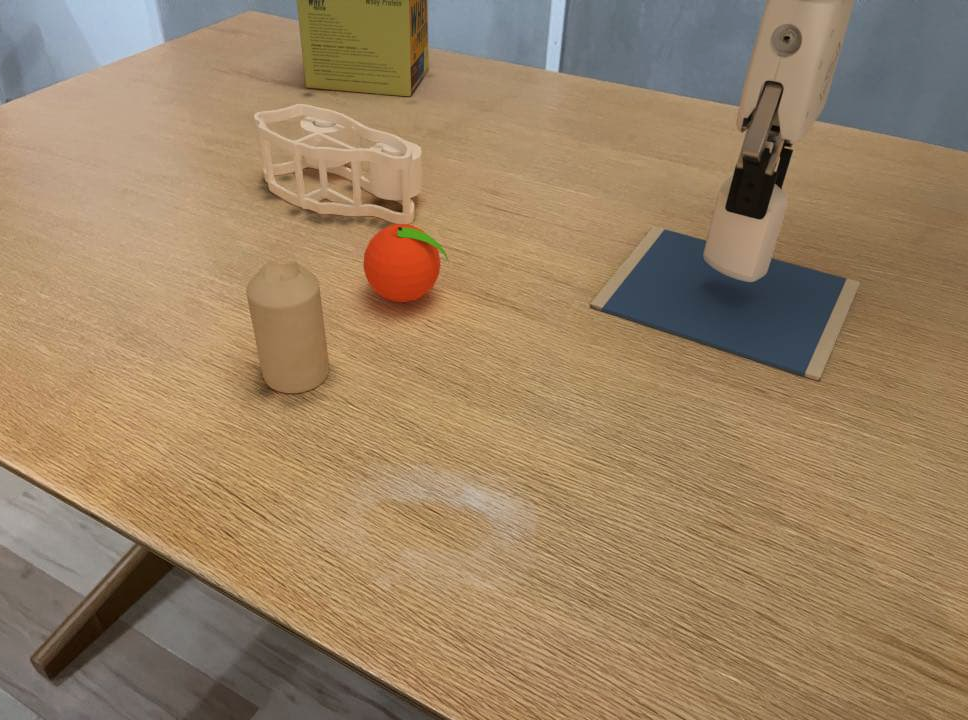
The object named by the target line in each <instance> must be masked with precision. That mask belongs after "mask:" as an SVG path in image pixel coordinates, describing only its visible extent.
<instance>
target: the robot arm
mask: <svg viewBox="0 0 968 720" xmlns="http://www.w3.org/2000/svg"><path fill="white" fill-rule="evenodd" d="M854 1H855V0H766V3H765V7H764V9H763V13H762V16H761V19H760V21H759V27H758V31H757V34H756V38H755V42H754V45H753V48H752V52H751V56H750V57H751V58H750V60H749V65H748V68H747V72H746V76H745V80H744V84H743V88H742V92H741V95H740V96H741V97H740V101H739V106H738V110H737V115H736V121H735V126H736V128H737V129H738V131H739V132H740V133H742V134H743V133H745V135H744V139H743V141H742V145H741V149H740V152H739V155H738V158H737V162H736V164H735V167H734V170H733V175H732V176H733V178H732V182H731V186H730V190H729V194H728V198H727V202H726V206H725V209H726V210H727V211H728V212H731V213H735V214H739V215H743V216H747V217H751V218H755V219H759V220H760V219H763V218H764V217H765V215H766V213H767V209H768V206H769V203H770V199H771V196H772V192H773V189H774V186H775V184H776V185H777V186H778V187H779V188H780V189H781V190H782V189H783V185H784V182H785V179H786V176H787V173H788V169H789V165H790V162H791V159H792V156H793V153H794V149H792V147H793V145H795V144H797V143H800V142H801V141H802V140H803V139H804V138H805V137H806V136H807V135H808V133H809V131H810V130H811V128H812V127H813V126H814V125H815V122H816V121H817V119H818V118H819V117H820V114H821V113H822V111H823V109H824V108H825V106H826V104H827V101H828V97H829V94H830V90H831V86H832V83H833V79H834V75H835V72H836V68H837V66H838V65H837V64H838V61H839V57H840V54H841V50H842V47H843V43H844V41H845V37H846V33H847V30H848V27H849V23H850V18H851V15H852V11H853V7H854ZM766 141H768V142H773V148H772V151H771V153H770V148H766ZM779 156H780V160H779V164H778V167H777V171H776V172H775V168H776V165H777V162H778V159H779Z"/></svg>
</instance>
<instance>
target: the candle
mask: <svg viewBox="0 0 968 720" xmlns="http://www.w3.org/2000/svg"><path fill="white" fill-rule="evenodd" d="M245 288H246V289H245V294H246V299H247V303H248V309H249V314H250V319H251V323H252V329H253V333H254V339H255V344H256V350H257V355H258V359H259V364H260V370H261V373H262V377H263V380H264V382H265V384H267V386H268V387H269V388H271V389H272V390H274V391H277V392H279V393H284V394H300V393H304V392H308V391H311V390H313V389H315V388H317V387H319V386H320V385H322V384H323V383H324V381H325V380H327V378H328V375H329V371H330V362H329V354H328V353H329V352H328V344H327V338H326V328H325V321H324V319H325V318H324V313H323V304H322V296H321V289H320V288H321V287H320V281H319V278H318V277H317V276H316V274H314V273H313V272H312V271H310V270H309V269H307V268H305V267H304V266H303V265H301V264H300V263H299V262H297V261H290V262H286V263H282V262H279V261H274V260H273V261H268V262H266V263H264V264H263V266H262V267H261V268H260V270H259V271H258V272H257V273H255V275H254V276H253V277H252V278H251V279H250V280H249V282H248V283H247V284H246V287H245Z"/></svg>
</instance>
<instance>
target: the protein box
mask: <svg viewBox="0 0 968 720" xmlns="http://www.w3.org/2000/svg"><path fill="white" fill-rule="evenodd" d="M428 2H429V1H428V0H296V8H297V17H298V24H299V36H300V46H301V55H302V64H303V74H304V85H305V88H308V89H319V90H329V91H331V90H332V91H341V92H352V93H354V92H355V93H364V94H365V93H367V94H375V95H388V96H399V97H400V96H402V97H412V96H413V94H414V92H415V90H416V89H417V88H418V86H420V83H421V82H422V80H423V79H424V77H425V76H426V74H427V72H428V71H429V70H430V58H429V57H430V56H429V11H428V10H429V7H428V6H429V5H428V4H429V3H428Z"/></svg>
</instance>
